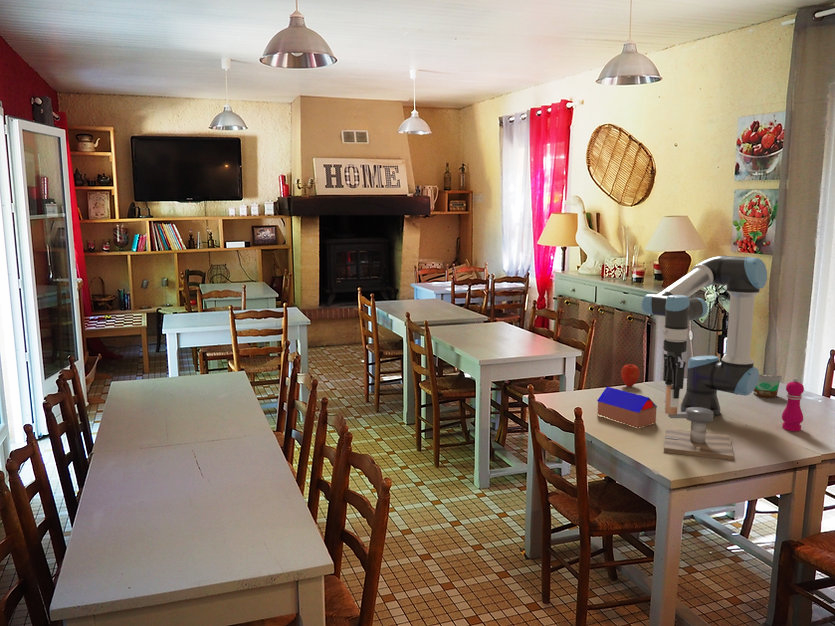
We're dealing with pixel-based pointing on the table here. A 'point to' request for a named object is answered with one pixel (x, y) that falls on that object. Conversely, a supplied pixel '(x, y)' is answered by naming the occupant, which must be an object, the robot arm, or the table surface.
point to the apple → (630, 374)
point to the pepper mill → (793, 407)
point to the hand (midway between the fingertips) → (671, 404)
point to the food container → (767, 386)
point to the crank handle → (688, 411)
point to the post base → (706, 449)
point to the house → (627, 407)
